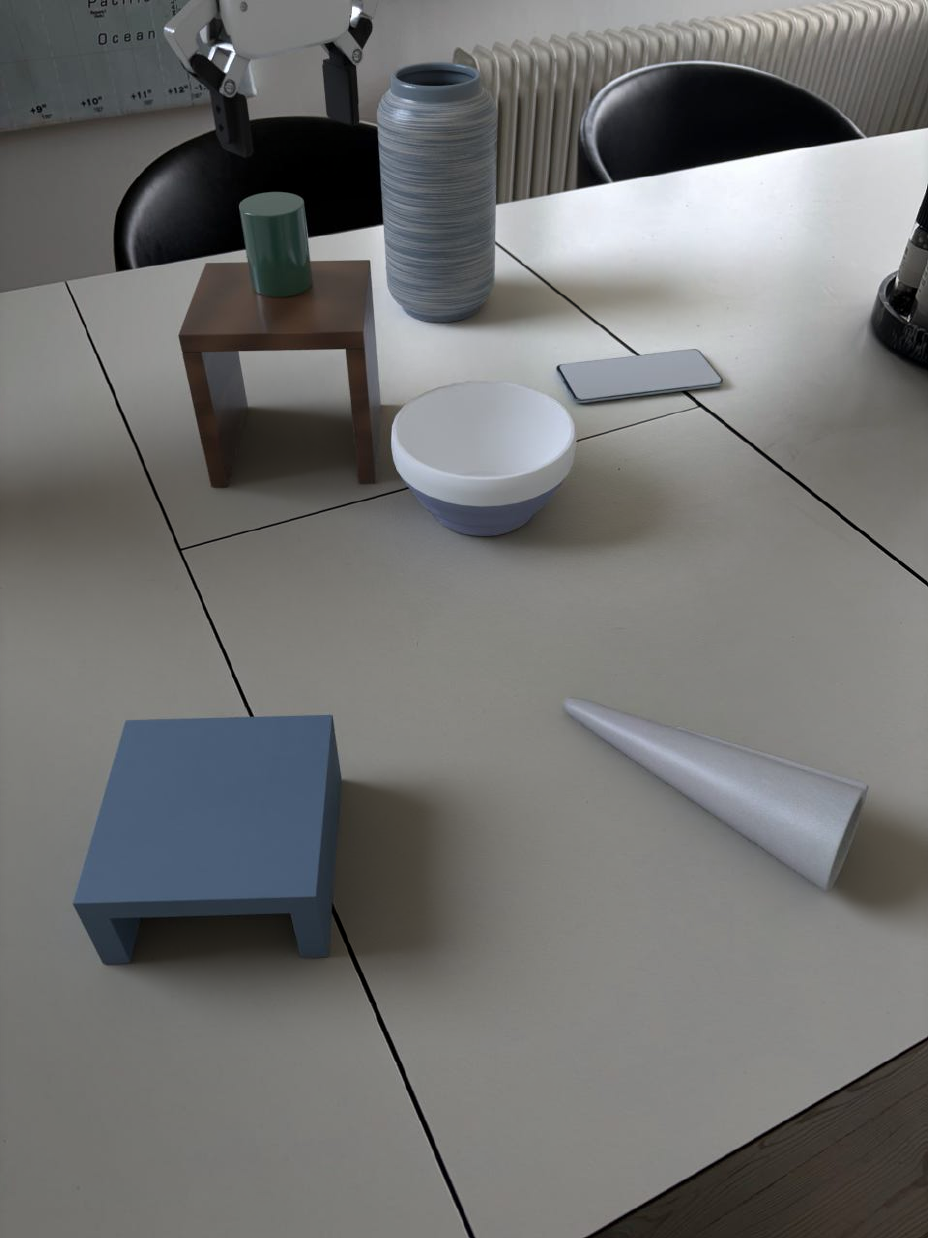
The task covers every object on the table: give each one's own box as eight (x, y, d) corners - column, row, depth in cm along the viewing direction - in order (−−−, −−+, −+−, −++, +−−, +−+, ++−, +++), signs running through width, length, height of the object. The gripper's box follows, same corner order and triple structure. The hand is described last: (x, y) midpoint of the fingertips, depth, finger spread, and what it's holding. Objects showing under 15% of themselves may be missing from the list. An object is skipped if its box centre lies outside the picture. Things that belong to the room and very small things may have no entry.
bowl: (374, 476, 86) (367, 398, 81) (530, 443, 90) (533, 366, 85) (427, 579, 76) (424, 497, 71) (600, 537, 80) (609, 457, 75)
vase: (408, 337, 105) (397, 98, 89) (374, 291, 113) (359, 64, 97) (510, 318, 108) (517, 83, 92) (471, 275, 116) (471, 52, 100)
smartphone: (554, 364, 99) (697, 347, 101) (554, 369, 99) (697, 352, 102) (575, 400, 94) (725, 382, 96) (574, 405, 94) (724, 387, 97)
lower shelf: (102, 964, 53) (71, 903, 49) (148, 784, 62) (125, 719, 58) (328, 957, 54) (316, 896, 50) (341, 778, 62) (332, 714, 58)
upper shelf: (210, 487, 85) (177, 334, 76) (232, 406, 95) (205, 262, 85) (375, 483, 86) (363, 331, 76) (380, 403, 95) (370, 259, 86)
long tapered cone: (520, 714, 61) (839, 839, 52) (571, 661, 65) (874, 768, 56) (520, 784, 64) (820, 914, 55) (568, 729, 68) (854, 841, 59)
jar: (247, 298, 80) (234, 216, 76) (255, 271, 84) (243, 191, 79) (310, 297, 80) (301, 215, 76) (315, 270, 84) (306, 190, 80)
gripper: (330, -171, 69) (350, 100, 80) (103, -150, 60) (162, 152, 71) (403, -163, 65) (413, 121, 76) (172, -139, 56) (223, 179, 68)
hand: (292, 136), depth 74 cm, fingers open, 9 cm apart
